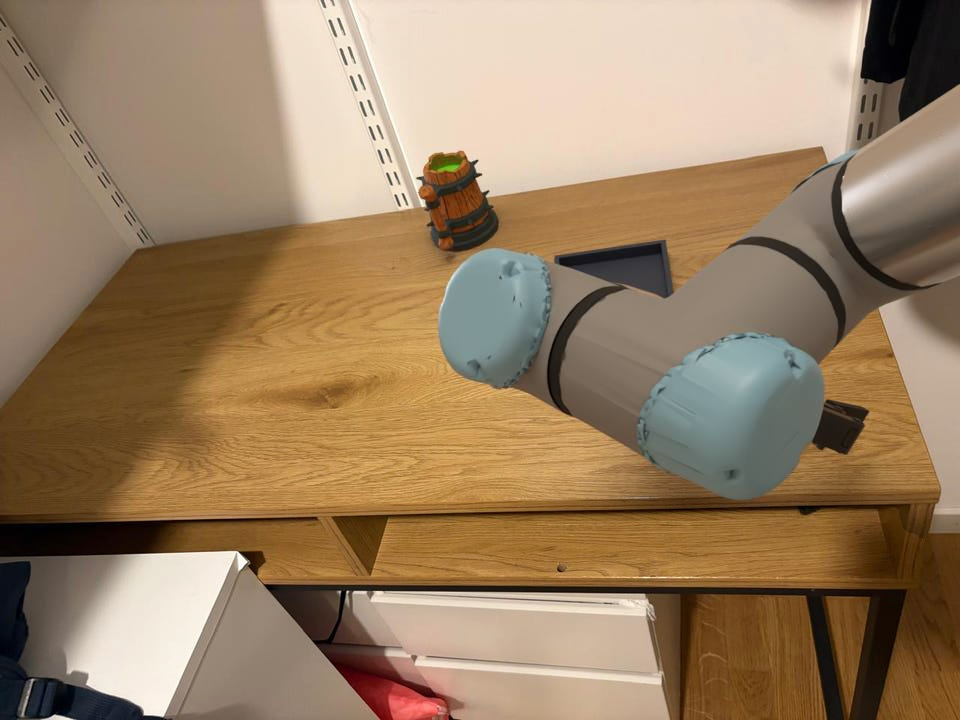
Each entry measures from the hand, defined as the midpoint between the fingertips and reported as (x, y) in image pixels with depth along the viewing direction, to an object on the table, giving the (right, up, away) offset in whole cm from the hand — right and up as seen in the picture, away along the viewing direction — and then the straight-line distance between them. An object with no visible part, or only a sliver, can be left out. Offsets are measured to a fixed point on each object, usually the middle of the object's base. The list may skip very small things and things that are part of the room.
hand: (785, 382), depth 64 cm
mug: (-29, +19, +38) cm, 51 cm away
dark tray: (-11, +9, +21) cm, 26 cm away
